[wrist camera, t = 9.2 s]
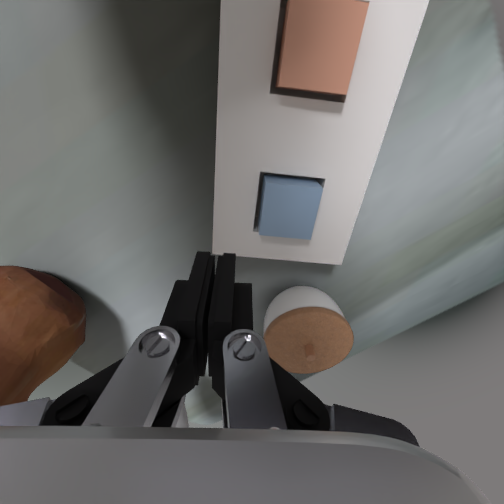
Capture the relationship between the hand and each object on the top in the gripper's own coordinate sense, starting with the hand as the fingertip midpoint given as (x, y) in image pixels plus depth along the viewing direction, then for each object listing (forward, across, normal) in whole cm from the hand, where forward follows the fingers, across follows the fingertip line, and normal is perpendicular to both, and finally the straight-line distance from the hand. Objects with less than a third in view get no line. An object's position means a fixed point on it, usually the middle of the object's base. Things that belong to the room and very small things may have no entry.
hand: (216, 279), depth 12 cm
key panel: (+19, -6, -4) cm, 20 cm away
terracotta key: (+16, -6, -10) cm, 20 cm away
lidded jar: (+19, -10, +18) cm, 28 cm away
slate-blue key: (+16, -5, +2) cm, 17 cm away
